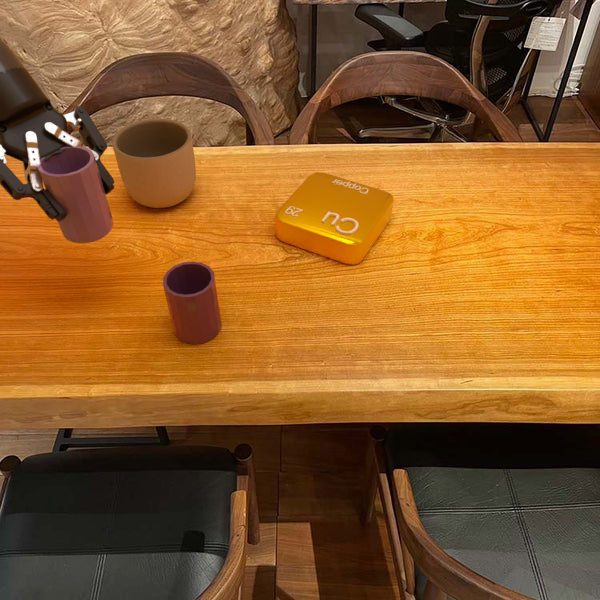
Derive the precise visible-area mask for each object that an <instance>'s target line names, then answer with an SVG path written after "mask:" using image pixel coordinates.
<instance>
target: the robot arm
mask: <svg viewBox="0 0 600 600" xmlns="http://www.w3.org/2000/svg"><path fill="white" fill-rule="evenodd" d="M68 126H70V127H71V128H72V129H73V130H75V131H78V132H79V134H80V136H81V137H82V139H83V140H84V143H85V144H86V145H84V143H83V142H82V141H81V140H80V139H78V138H77V137H75V136H73V135H71V134H70V133H68ZM65 146H70V147H75V146H82V147H85V148H87V149H89V150H91V151H92V153H93V154H94V156H95V159H96V163H97V166H98V170H99V173H100V177H101V180H102V183H103V187H104V190H105V194H106V195H108V194H110V193H111V192H112V191H113V190H114V189H115V186H114V183H115V180H114V177H113V176H112V174H111V173H110V172H109V171H108V169H107V167H106V166H105V165H104V164H103V162H102V161H101V157H102V156H103V154H104V152H105V151H106V150H107V149H108V143H107V142H106V140H105V139H104V137H103V136H102V134H101V132H100V131H99V128H97V126H96V124H95V122H94V121H93V119H92V118H91V116H90V114H89V112H88V111H87V109H86V108H85V107H84V106H81V105H79V106H77V107H76V108H75V110H74V111H71V112H68V113H66V114H62V113H61V112H60V111H58V110H57V109H55V108H54V106H53V104H52V103H51V100H50V99H49V98H48V96H46V94H45V92H44V91H43V90H42V89H41V87H40V86H39V85H38V83H37V82H36V80H35V79H34V78H33V76H32V74H31V73H30V72H29V71H28V69H27V68H26V67H25V66H24V64H23V63H22V62H21V60H20V58H19V57H18V56H17V55H16V53H15V52H14V51H13V49H12V48H11V47H10V46H9V45H8V44H7V42H6V41H4V40H3V38H2V37H0V186H1V188H3V189H4V190H5V192H7V194H9V196H10V197H11V198H12V199H13V200H15V201H20V200H22V199H26V198H31V199H33V200H34V201H35V202H36V204H38V206H39V207H40V208H41V210H42V211H43V212H44V213H45V215H46V217H47V218H49V219H50V220H51V221H53V220H55V221H57V223H58V222H60V221H62V220H63V219H65V217H66V216H67V215H66V212H65V211H64V210H63V208H62V207H61V206H60V204H59V203H58V202H57V200H56V199H55V198H54V197H53V195H52V194H51V193H50V191H49V190H48V189H45V187H44V184H43V181H42V178H41V176H40V173H39V171H38V168H37V166H38V165H40V164H41V162H40V159H41V158H43V157H45V159H44V161H47V160H49V159H50V158H51V157H52V156H53V155H58V154H60V153H62V152H63V151H65V150H60V149H61V148H63V147H65ZM5 155H6V156H8V157H11V158H13V159H15V160H18V161H20V162H22V168H23V173H24V178H25V181H26V183H23V181H21V179H19V177H18V176H17V175H16V174H15V173H14V172H13V170H11V169H10V167H8V165H7V163H8V160H7V157H6V156H5Z"/></svg>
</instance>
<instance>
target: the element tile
mask: <svg viewBox="0 0 600 600" xmlns="http://www.w3.org/2000/svg"><path fill="white" fill-rule="evenodd" d="M393 206H394V196H393V195H392V194H391V192H389V191H386V190H383V189H380V188H377V187H373V186H370V185H366V184H363V183H361V182H360V183H359V182H356V181H353V180H350V179H346V178H342V177H340V176H336V175H333V174H330V173H326V172H320V171H316V172H314V173H312V174H310V175H309V176H308V177H307V178H306V179H305V180H304V181H303V182H302V183H301V184H300V186H298V187H297V189H296V190H295V191H293V193H292V194H291V195H290V196H289V197H288V198H287V199H286V201H285V202H284V203H283V204H281V206H280V207H279V208H278V209H277V211H276V212H275V215H274V219H275V220H274V221H275V236H276V239H278V240H279V241H280V242H282V243H285V244H287V245H291V246H293V247H296V248H299V249H302V250H304V251H307V252H311V253H314V254H316V255H319V256H322V257H325V258H327V259H331V260H333V261H336V262H339V263H342V264H345V265H357V264H360V263H362V261H363V260H364V259H365V258H366V256H367V254H368V253H369V252H370V250H371V249H372V248H373V246H374V244H375V243H376V242H377V240H378V239H379V237H380V236H381V235H382V233H383V231H385V228H387V226H388V224H389V223H390V221H391V220H392V214H393V213H392V212H393Z"/></svg>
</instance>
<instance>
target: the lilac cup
mask: <svg viewBox="0 0 600 600" xmlns="http://www.w3.org/2000/svg"><path fill="white" fill-rule="evenodd" d="M60 150H65V151H63V152H62V153H60V154H58V155H53V156H52V157H51V158H50V159H49V160H47V161H44V159H45V157H43V158H41V159H40V162H41V164H40V165H38V166H37V168H38V171H39V173H40V176H41V178H42V181H43V188H44V189H48V190H49V191H50V193H51V194H52V195H53V197H54V198H55V199H56V200H57V202H58V203H59V204H60V206H61V207H62V208H63V210H64V211H65V212H66V215H67V216H66V217H65V219H63V220H62V221H60V222H58V221H57V224H58V226H59V229H60V232H61V233H62V236H63V237H64V239H66V240H67V241H69V242H71V243H75V244H89V243H94V242H97V241H99V240H101V239H103V238H105V237H106V236H107V235H108V234H109V233H111V232H112V230H113V227H114V219H113V215H112V211H111V208H110V204H109V201H108V198H107V194H105V190H104V187H103V183H102V180H101V177H100V173H99V170H98V166H97V163H96V159H95V156H94V154H93V153H92V151H91V150H89V149H87V148H85V147H82V146H75V147H70V146H65V147H63V148H61V149H60Z"/></svg>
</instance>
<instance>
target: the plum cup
mask: <svg viewBox="0 0 600 600" xmlns="http://www.w3.org/2000/svg"><path fill="white" fill-rule="evenodd" d="M162 286H163V287H162V288H163V292H164V295H165V299H166V303H167V309H168V313H169V317H170V320H171V321H170V322H171V325H172V329H173V332H174V335H175V337H176V338H177V339H178V340H180V341H181V342H183V343H186V344H189V345H201V344H205V343H208V342H210V341H211V340H213V339H215V337H217V336H218V334H219V333H220V331H221V329H222V318H221V311H220V310H221V309H220V304H219V303H220V302H219V297H218V289H217V283H216V276H215V272H214V271H213V269H212V268H211V266H209V265H207V264H205V263H204V262H199V261H184V262H180V263H178V264H174V265H173V266H172V267H170V268H169V269H168V270H167V271H166V273H165V274H164V276H163V277H162Z"/></svg>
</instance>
